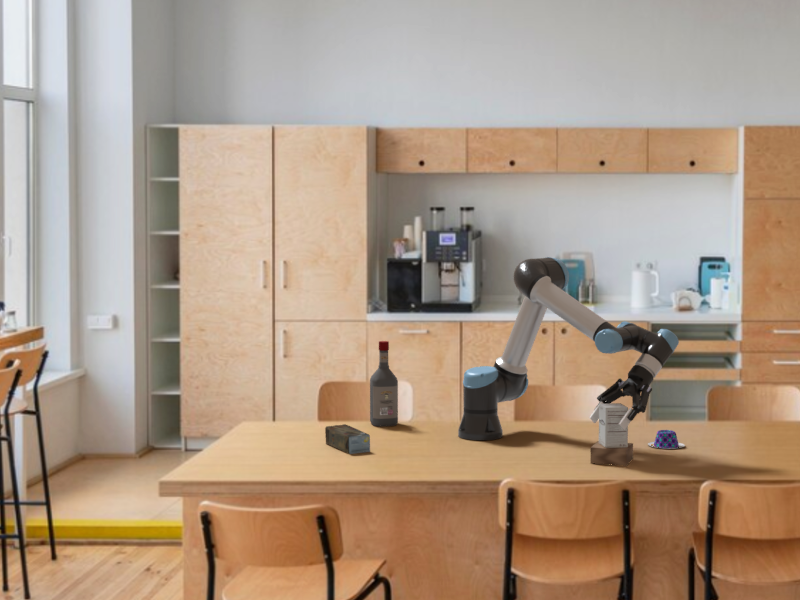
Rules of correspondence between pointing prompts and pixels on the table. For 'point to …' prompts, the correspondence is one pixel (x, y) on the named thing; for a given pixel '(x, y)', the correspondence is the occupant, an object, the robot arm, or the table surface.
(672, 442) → the pudding
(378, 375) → the liquor
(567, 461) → the table surface
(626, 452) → the riser block
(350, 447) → the beverage carton
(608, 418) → the supplement box
